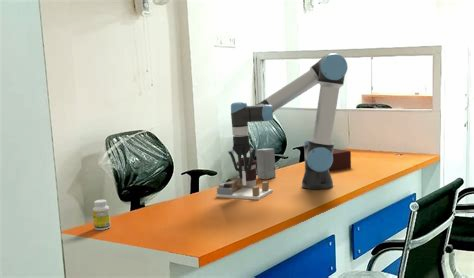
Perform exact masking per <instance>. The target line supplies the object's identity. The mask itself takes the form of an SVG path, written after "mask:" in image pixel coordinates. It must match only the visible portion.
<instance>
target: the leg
mask: <svg viewBox="0 0 474 278" xmlns="http://www.w3.org/2000/svg"><path fill="white" fill-rule="evenodd" d="M224 183H225V184H224V188H233V192H235V191H237V190H239V189H241V188H243V185H242V179H240V177H238V176H237V177H235V178H234V179H232V180H230V181H228V182H224Z"/></svg>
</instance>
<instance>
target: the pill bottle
mask: <svg viewBox="0 0 474 278" xmlns="http://www.w3.org/2000/svg"><path fill="white" fill-rule="evenodd" d="M107 203H108V202H107V200H106V199H97V200H94V202H93V204H94V206H93V208H92V215H93V226H94V230H95V231H105V229H106V230H109V229H110V228H111V216H110V206H109V205H107ZM108 228H109V229H108Z"/></svg>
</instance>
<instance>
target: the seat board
mask: <svg viewBox="0 0 474 278" xmlns="http://www.w3.org/2000/svg"><path fill="white" fill-rule="evenodd" d="M225 183H226V182H223V183H220V184H218V187H217V188H216V195H215V196H216V198H228V199H229V198H230V199H231V198H232V199H243V200H244V199H245V200H261V199H262V198H265V197H266V196H267V195H270V194H271V193H273V189H270V186H269V185H270V184H269V181H262V182H261V188H260V186H257V185H256V186H254V187H252V188H241V189H239V190H237V191H235V192H233V188H224V184H225Z"/></svg>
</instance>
